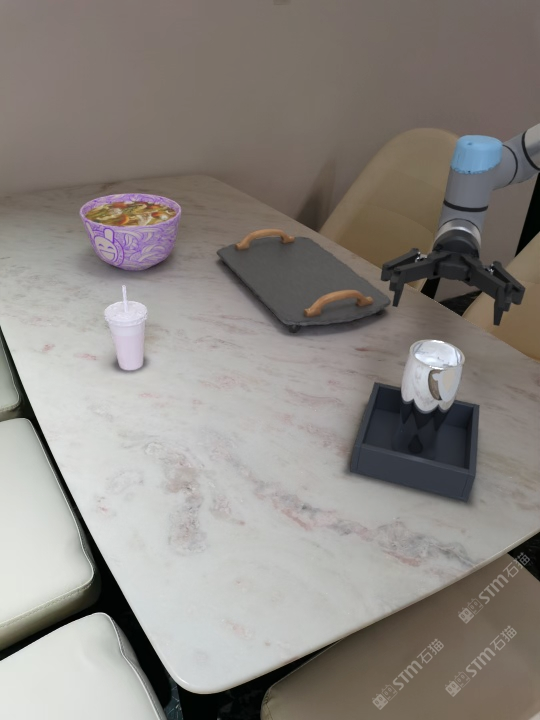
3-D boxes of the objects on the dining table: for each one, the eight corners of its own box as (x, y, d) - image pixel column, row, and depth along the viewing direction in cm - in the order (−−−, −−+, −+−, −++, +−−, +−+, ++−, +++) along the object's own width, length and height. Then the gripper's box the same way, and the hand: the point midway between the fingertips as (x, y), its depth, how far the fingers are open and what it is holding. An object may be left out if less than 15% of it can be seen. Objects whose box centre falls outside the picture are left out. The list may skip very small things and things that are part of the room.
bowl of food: (88, 287, 115) (81, 230, 109) (84, 247, 131) (77, 195, 125) (191, 279, 120) (189, 224, 114) (175, 241, 136) (173, 191, 130)
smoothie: (113, 378, 91) (103, 297, 83) (107, 356, 96) (97, 277, 88) (155, 371, 93) (149, 291, 85) (147, 350, 98) (141, 272, 90)
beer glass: (396, 424, 84) (416, 332, 76) (445, 440, 82) (471, 347, 73) (381, 453, 79) (401, 359, 70) (434, 471, 76) (460, 376, 68)
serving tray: (209, 257, 130) (209, 230, 126) (302, 243, 139) (304, 217, 135) (291, 345, 101) (293, 313, 98) (401, 321, 110) (407, 291, 107)
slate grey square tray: (471, 430, 85) (479, 404, 82) (466, 502, 73) (475, 475, 70) (370, 406, 88) (374, 381, 85) (349, 472, 76) (354, 445, 74)
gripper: (529, 284, 97) (535, 349, 80) (377, 259, 103) (352, 314, 86) (543, 240, 93) (552, 299, 76) (383, 217, 99) (359, 266, 82)
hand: (446, 307), depth 81 cm, fingers open, 13 cm apart
